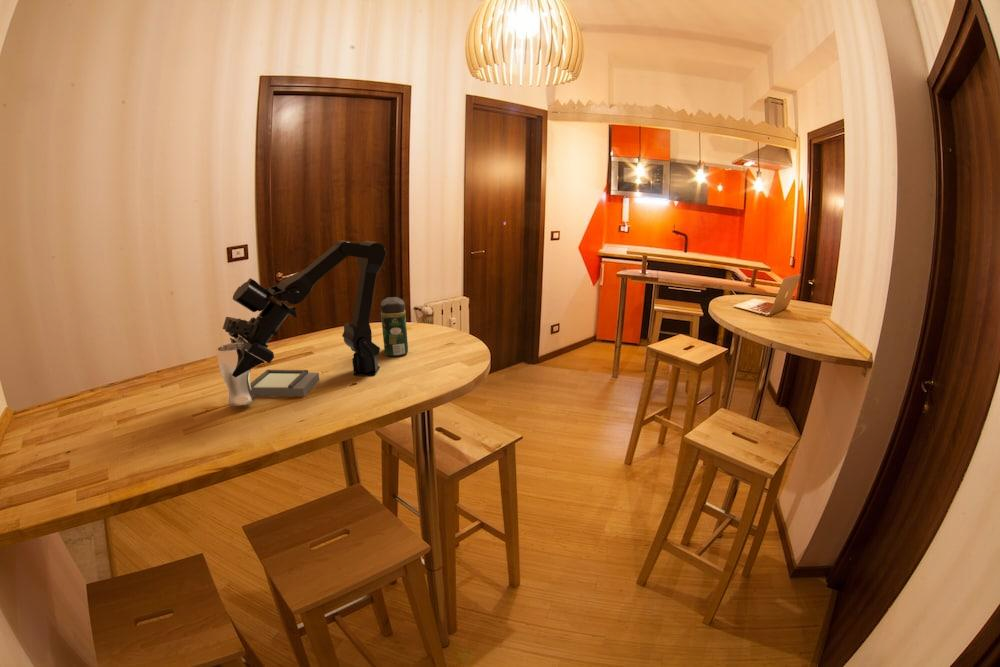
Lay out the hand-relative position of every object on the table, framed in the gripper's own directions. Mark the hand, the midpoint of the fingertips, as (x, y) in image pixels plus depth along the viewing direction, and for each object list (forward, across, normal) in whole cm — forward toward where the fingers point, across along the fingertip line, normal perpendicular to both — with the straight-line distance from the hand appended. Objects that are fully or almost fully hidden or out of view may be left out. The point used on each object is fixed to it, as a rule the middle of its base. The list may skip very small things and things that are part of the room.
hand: (230, 372), depth 128 cm
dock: (-3, -4, +17) cm, 18 cm away
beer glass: (+5, 0, +7) cm, 9 cm away
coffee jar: (-29, -9, +44) cm, 54 cm away
